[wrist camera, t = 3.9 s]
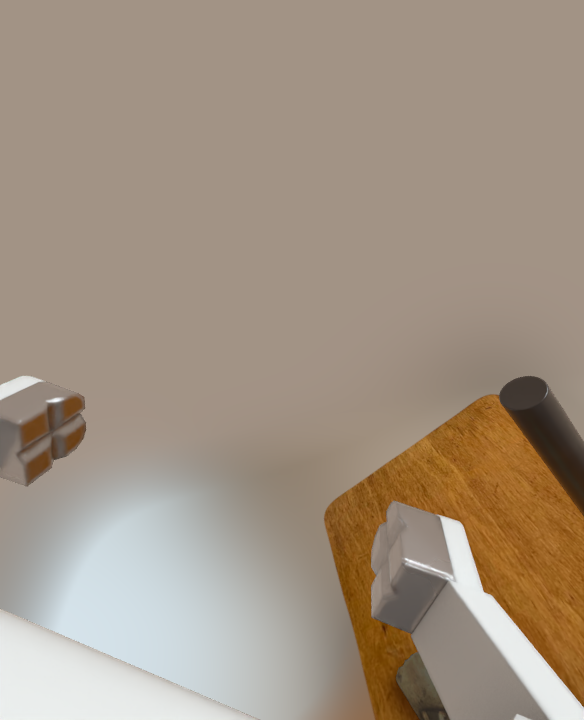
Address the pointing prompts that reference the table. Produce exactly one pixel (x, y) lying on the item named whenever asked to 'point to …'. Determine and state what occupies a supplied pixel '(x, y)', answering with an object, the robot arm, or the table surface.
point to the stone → (420, 690)
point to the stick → (548, 432)
